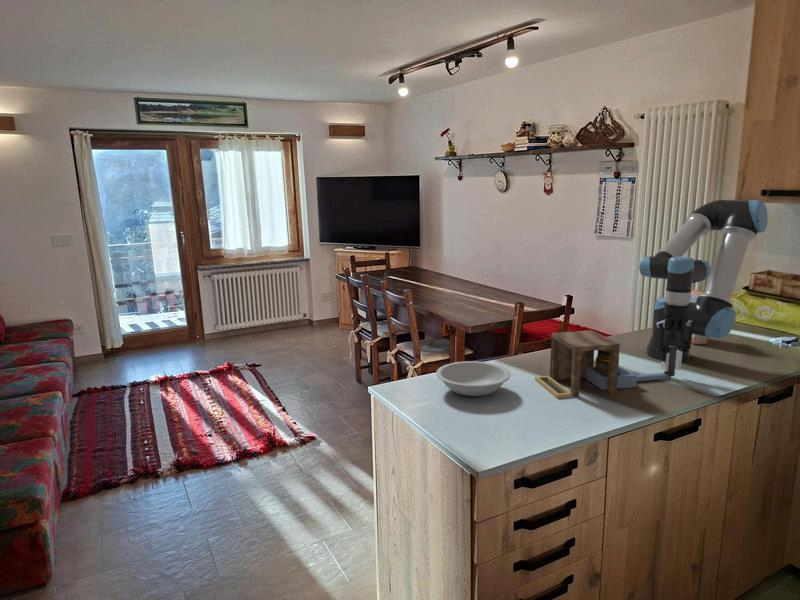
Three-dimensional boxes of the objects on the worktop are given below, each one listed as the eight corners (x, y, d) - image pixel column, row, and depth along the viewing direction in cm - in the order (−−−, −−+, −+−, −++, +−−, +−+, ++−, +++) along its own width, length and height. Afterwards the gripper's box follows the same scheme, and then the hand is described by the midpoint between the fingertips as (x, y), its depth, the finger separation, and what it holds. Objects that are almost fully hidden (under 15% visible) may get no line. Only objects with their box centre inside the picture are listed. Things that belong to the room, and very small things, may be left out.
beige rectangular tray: (548, 378, 187) (548, 375, 187) (571, 397, 171) (571, 393, 171) (534, 380, 186) (534, 376, 186) (556, 398, 170) (557, 394, 170)
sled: (663, 371, 191) (665, 342, 189) (684, 382, 180) (686, 351, 178) (585, 378, 186) (587, 347, 184) (602, 389, 176) (604, 357, 173)
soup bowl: (455, 374, 193) (455, 357, 192) (520, 386, 181) (520, 367, 180) (423, 397, 173) (423, 378, 172) (494, 411, 161) (494, 390, 160)
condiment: (619, 384, 181) (621, 350, 179) (603, 390, 176) (605, 355, 174) (600, 378, 187) (602, 345, 184) (584, 384, 182) (586, 350, 180)
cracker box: (708, 344, 222) (713, 295, 218) (693, 345, 222) (698, 295, 218) (690, 335, 236) (694, 288, 232) (676, 335, 236) (680, 289, 232)
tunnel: (589, 375, 190) (592, 330, 186) (616, 393, 173) (619, 343, 170) (549, 378, 187) (551, 333, 184) (573, 397, 171) (575, 347, 168)
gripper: (692, 299, 185) (686, 364, 190) (646, 302, 183) (641, 367, 187) (708, 304, 178) (701, 371, 183) (660, 306, 175) (654, 374, 180)
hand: (670, 369), depth 185 cm, fingers open, 4 cm apart
